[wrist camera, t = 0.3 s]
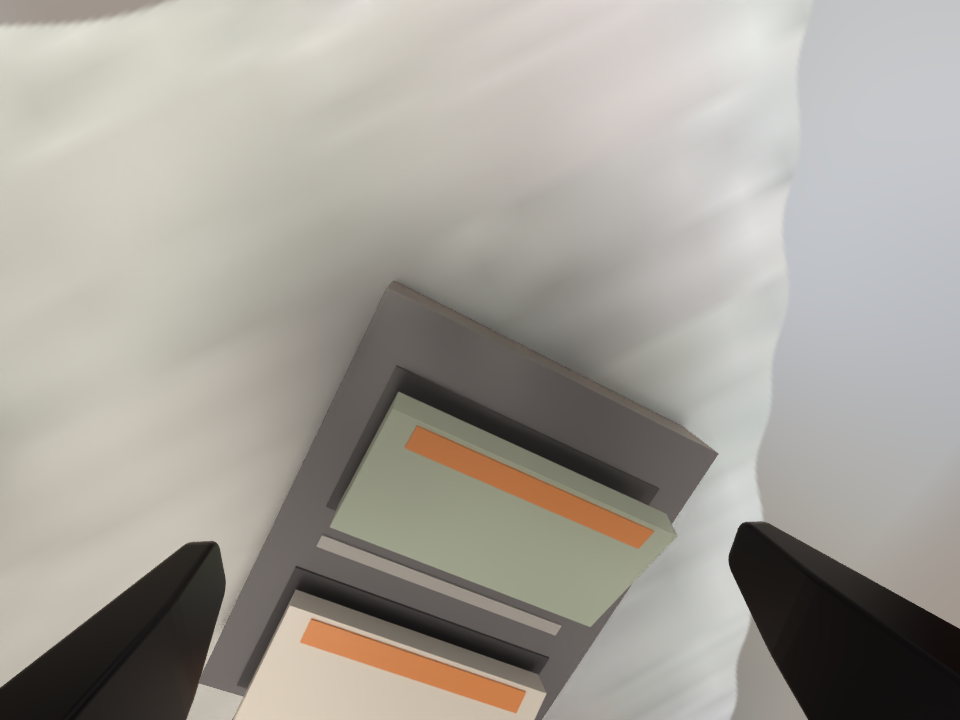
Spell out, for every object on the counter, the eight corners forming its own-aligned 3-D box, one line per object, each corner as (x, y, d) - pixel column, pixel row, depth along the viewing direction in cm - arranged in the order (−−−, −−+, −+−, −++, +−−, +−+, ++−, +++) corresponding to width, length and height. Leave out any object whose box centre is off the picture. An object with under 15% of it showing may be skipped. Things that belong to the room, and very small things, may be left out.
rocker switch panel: (497, 718, 28) (505, 776, 25) (225, 630, 24) (196, 684, 21) (684, 427, 24) (719, 454, 21) (393, 280, 21) (387, 287, 18)
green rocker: (581, 589, 22) (590, 629, 21) (342, 493, 20) (328, 529, 18) (660, 501, 20) (678, 538, 18) (401, 382, 18) (392, 410, 16)
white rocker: (480, 777, 23) (488, 819, 21) (237, 706, 21) (221, 746, 19) (533, 664, 23) (547, 695, 21) (298, 580, 21) (289, 606, 19)
